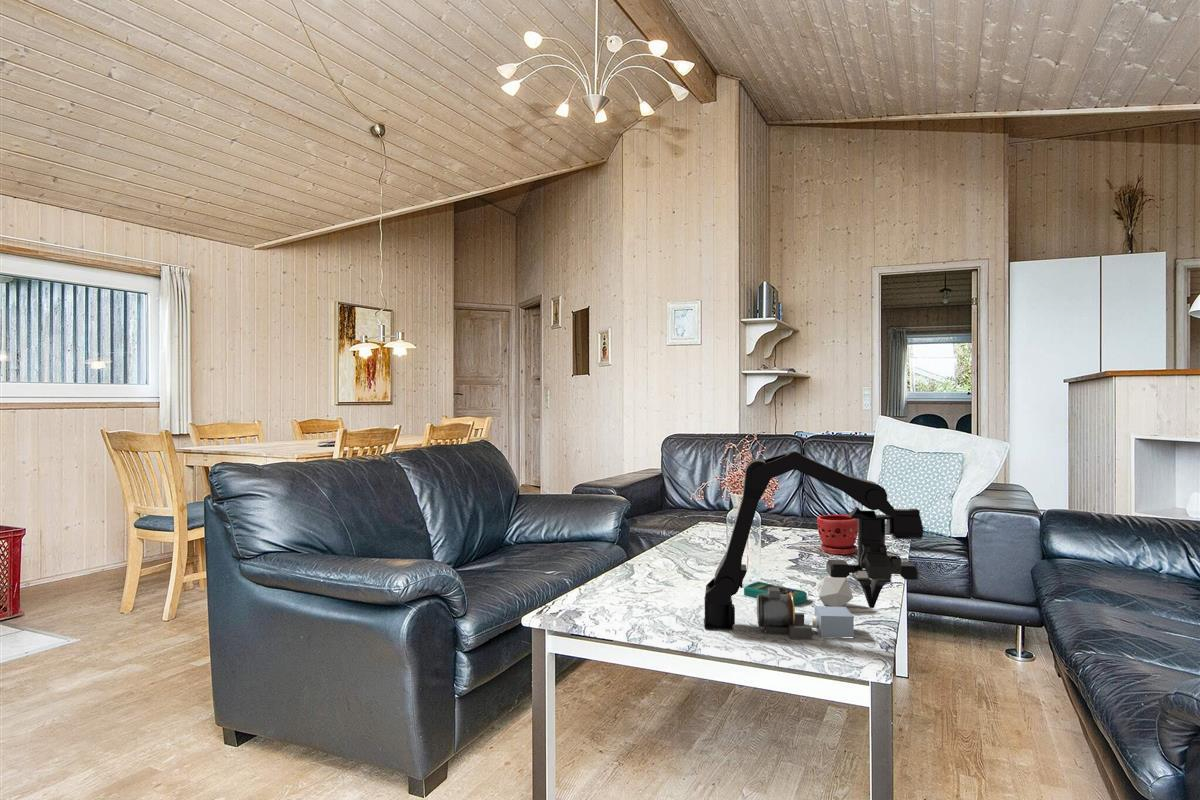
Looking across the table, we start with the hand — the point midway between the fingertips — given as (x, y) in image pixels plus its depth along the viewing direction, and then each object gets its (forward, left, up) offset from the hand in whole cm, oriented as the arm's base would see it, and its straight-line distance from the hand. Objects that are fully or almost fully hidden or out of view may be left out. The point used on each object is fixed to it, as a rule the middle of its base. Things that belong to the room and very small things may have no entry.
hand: (871, 607), depth 157 cm
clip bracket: (-16, 0, -6) cm, 17 cm away
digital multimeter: (-18, +26, -6) cm, 32 cm away
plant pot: (+10, +83, -6) cm, 84 cm away
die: (-4, +20, -6) cm, 21 cm away
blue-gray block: (-8, 0, -6) cm, 10 cm away
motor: (-22, 0, -6) cm, 23 cm away
